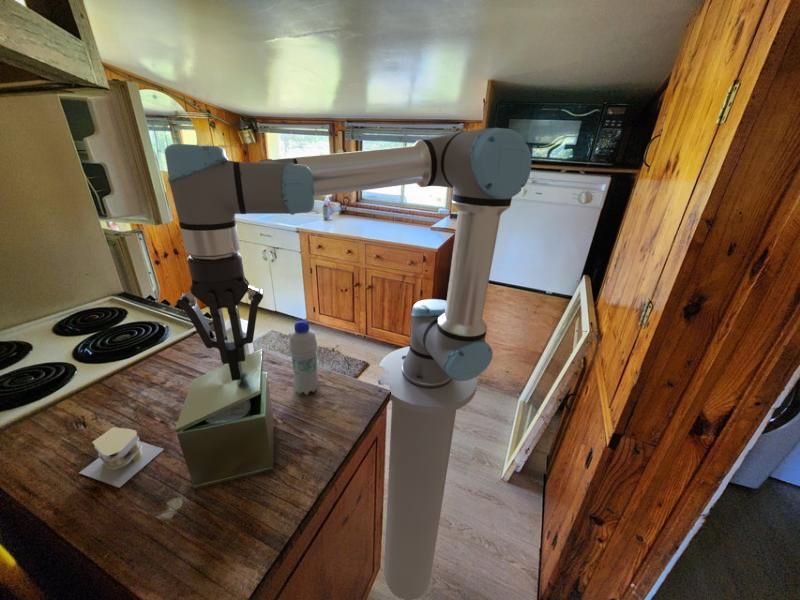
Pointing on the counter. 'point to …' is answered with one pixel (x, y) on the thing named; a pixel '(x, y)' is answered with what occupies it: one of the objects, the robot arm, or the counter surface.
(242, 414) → the canned tomato
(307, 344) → the bottle
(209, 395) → the lid
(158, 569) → the counter surface
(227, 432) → the bin
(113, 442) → the stacked layers on plate
